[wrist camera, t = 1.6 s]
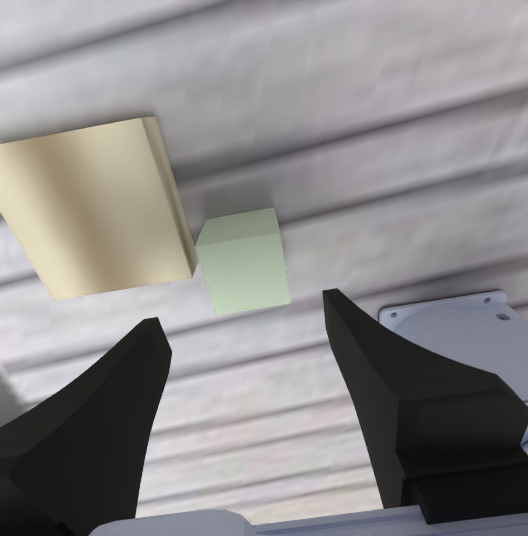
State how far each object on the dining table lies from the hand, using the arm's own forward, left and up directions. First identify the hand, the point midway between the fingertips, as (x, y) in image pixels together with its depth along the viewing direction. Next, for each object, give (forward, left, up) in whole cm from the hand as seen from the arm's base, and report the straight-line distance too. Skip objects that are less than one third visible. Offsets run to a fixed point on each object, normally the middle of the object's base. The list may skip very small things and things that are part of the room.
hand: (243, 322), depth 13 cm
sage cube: (0, 0, -8) cm, 8 cm away
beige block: (+8, -4, -9) cm, 13 cm away
